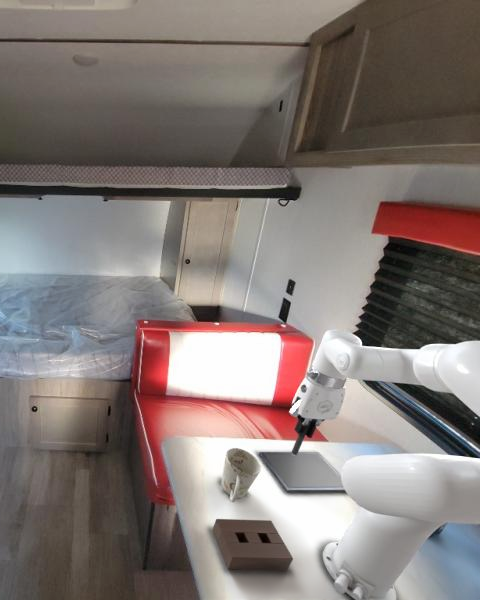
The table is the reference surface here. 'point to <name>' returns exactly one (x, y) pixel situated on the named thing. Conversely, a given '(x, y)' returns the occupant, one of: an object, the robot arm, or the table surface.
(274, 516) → the table surface
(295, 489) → the tablet
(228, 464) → the mug
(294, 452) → the stylus
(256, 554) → the pen stand
